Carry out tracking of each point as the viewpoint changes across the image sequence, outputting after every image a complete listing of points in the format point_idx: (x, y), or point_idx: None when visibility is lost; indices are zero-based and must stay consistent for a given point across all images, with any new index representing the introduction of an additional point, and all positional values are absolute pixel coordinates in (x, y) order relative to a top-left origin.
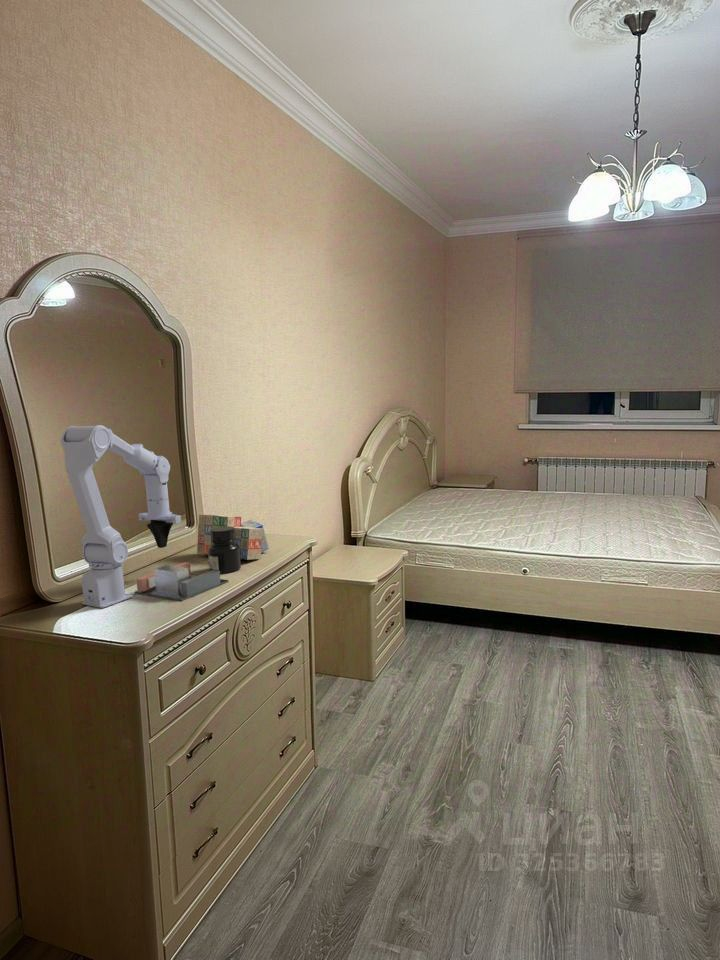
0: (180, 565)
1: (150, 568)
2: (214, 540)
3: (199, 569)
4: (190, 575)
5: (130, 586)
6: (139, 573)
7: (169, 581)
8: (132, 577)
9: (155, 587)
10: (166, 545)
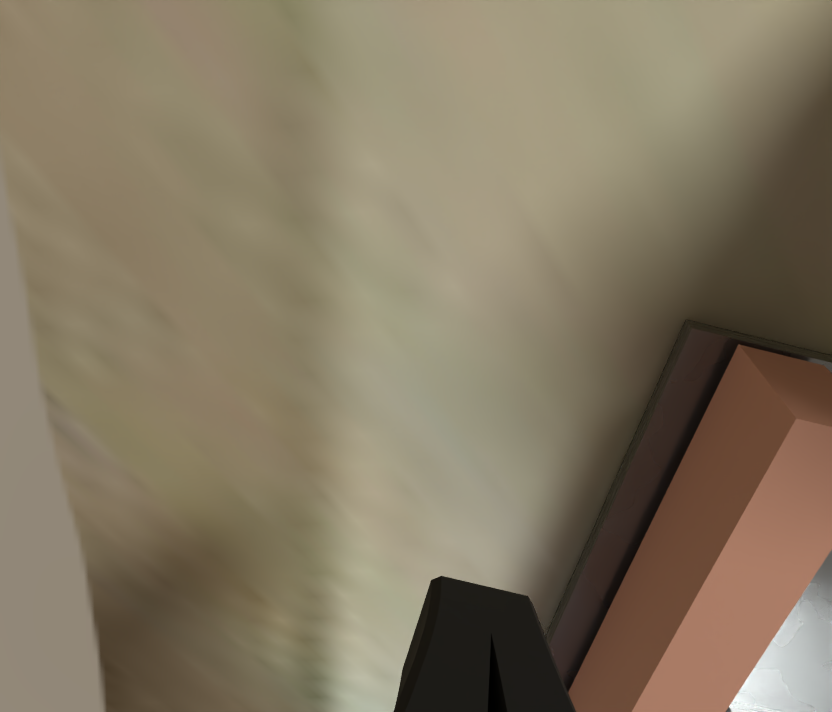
0: (799, 561)
1: (33, 59)
2: None
3: (811, 6)
4: None
5: (328, 641)
6: (82, 288)
7: None
8: (130, 425)
9: None
10: (533, 616)
